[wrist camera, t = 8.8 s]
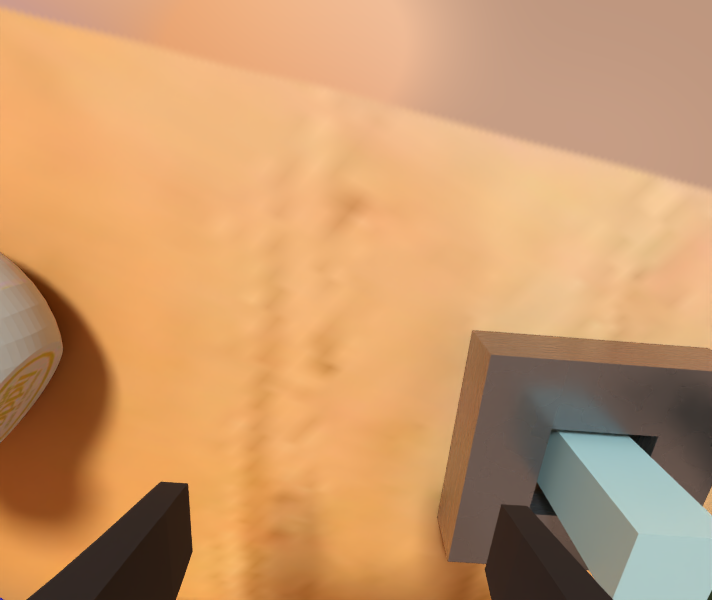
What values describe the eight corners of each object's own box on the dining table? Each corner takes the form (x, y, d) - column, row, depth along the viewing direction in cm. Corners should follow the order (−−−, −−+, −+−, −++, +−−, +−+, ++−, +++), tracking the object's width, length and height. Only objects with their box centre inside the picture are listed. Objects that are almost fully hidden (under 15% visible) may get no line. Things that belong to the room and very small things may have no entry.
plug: (524, 460, 20) (610, 605, 13) (538, 406, 19) (638, 533, 12) (585, 464, 20) (701, 610, 13) (602, 411, 19) (737, 539, 12)
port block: (437, 517, 21) (447, 561, 18) (472, 330, 18) (490, 354, 15) (635, 530, 21) (670, 575, 19) (707, 348, 18) (762, 375, 15)
